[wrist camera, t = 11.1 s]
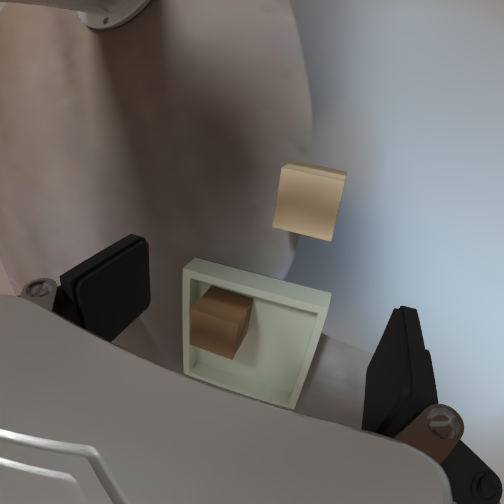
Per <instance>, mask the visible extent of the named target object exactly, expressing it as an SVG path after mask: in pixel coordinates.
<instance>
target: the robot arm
mask: <svg viewBox="0 0 504 504" xmlns="http://www.w3.org/2000/svg"><path fill="white" fill-rule="evenodd" d="M150 1H151V0H0V2H11V3H23V4H33V5H42V6H49V7H56V8H62V9H68V10H74V11H77V14H78V16H79V18H80V20H81V21H82V22H83V23H84V24H85V25H87V26H88V27H91V28H96V29H110V28H114V27H117V26H120V25H122V24H124V23H125V22H127V21H129V20H130V19H132V18H133V17H134V16H136V15H137V14H138V13H139V12H141V11H142V10H143V9H144V8H145V7H146V6H147V5H148V3H149V2H150ZM59 277H60V282H61V285H60V286H57V283H56V282H55V281H54V280H52V279H49V278H40V279H36V280H33V281H31V282H29V283H27V284H26V285H25V286H24V288H23V289H22V292H21V295H20V296H13V295H6V294H0V504H501V503H500V502H499V501H500V499H501V496H502V484H501V481H500V479H499V477H498V476H497V475H496V474H495V473H494V472H493V471H492V470H491V469H490V468H489V467H488V466H487V465H486V464H485V463H484V462H483V461H482V460H481V459H480V458H479V457H478V456H477V455H476V454H474V452H473V451H472V450H470V448H468V447H467V446H466V445H465V444H464V443H463V442H462V441H461V440H460V439H461V437H462V435H463V433H464V423H463V420H462V418H461V417H460V415H459V414H458V413H457V412H456V411H455V410H454V409H453V408H451V407H449V406H447V405H444V404H438V397H437V391H436V384H435V378H434V372H433V367H432V361H431V356H430V352H429V351H428V350H426V349H425V346H424V341H423V336H422V331H421V326H420V321H419V317H418V313H417V310H416V309H414V308H410V307H406V306H400V308H399V309H396V308H395V309H394V310H393V312H392V315H391V318H390V319H389V322H388V324H387V326H386V329H385V331H384V334H383V336H382V338H381V340H380V342H379V344H378V346H377V349H376V351H375V353H374V355H373V357H372V359H371V361H370V363H369V366H368V368H367V373H366V385H365V399H364V411H363V421H362V430H361V429H357V428H353V427H349V426H345V425H341V424H337V423H334V422H330V421H325V420H321V419H317V418H313V417H310V416H306V415H302V414H299V413H295V412H292V411H288V410H285V409H281V408H278V407H274V406H271V405H268V404H265V403H261V402H258V401H255V400H252V399H249V398H246V397H243V396H240V395H237V394H234V393H231V392H228V391H226V390H223V389H220V388H217V387H215V386H212V385H209V384H206V383H204V382H201V381H199V380H196V379H193V378H191V377H188V376H186V375H183V374H181V373H178V372H176V371H174V370H171V369H169V368H166V367H164V366H162V365H159V364H157V363H155V362H152V361H150V360H148V359H146V358H143V357H141V356H139V355H137V354H135V353H132V352H130V351H128V350H126V349H124V348H122V347H120V346H118V345H116V344H113V343H111V341H112V340H114V339H115V338H116V337H117V336H118V335H119V334H120V333H121V332H122V331H123V330H124V329H125V328H126V327H127V326H128V325H129V324H130V323H132V322H133V321H134V320H135V319H136V318H137V317H138V316H139V315H140V314H141V313H142V312H143V311H144V310H145V309H147V308H148V306H149V304H150V300H151V298H150V277H149V246H148V243H147V242H146V240H145V238H144V237H140V236H137V235H133V234H130V235H128V236H126V237H124V238H123V239H121V240H119V241H117V242H116V243H114V244H112V245H111V246H109V247H107V248H105V249H104V250H102V251H100V252H99V253H97V254H95V255H94V256H92V257H90V258H89V259H87V260H85V261H84V262H82V263H80V264H79V265H77V266H75V267H74V268H72V269H71V270H69V271H67V272H66V273H64V274H63V275H61V276H59Z"/></svg>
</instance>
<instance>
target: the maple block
mask: <svg viewBox="0 0 504 504" xmlns="http://www.w3.org/2000/svg"><path fill="white" fill-rule="evenodd" d="M345 178H346V172H344V171H339V170H336V169H331V168H327V167H323V166H318V165H314V164H308V163H304V162H299V161H294V160H293V161H291V162H290V163H288V164H287V165H285V166H284V167H282V168H281V174H280V180H279V187H278V193H277V199H276V205H275V211H274V217H273V223H272V227H274V228H278V229H282V230H286V231H291V232H295V233H299V234H303V235H307V236H311V237H315V238H319V239H322V240H327V241H330V242H331V240H332V236H333V232H334V228H335V224H336V219H337V216H338V211H339V207H340V203H341V198H342V193H343V189H344V184H345Z"/></svg>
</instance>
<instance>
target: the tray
mask: <svg viewBox="0 0 504 504" xmlns="http://www.w3.org/2000/svg"><path fill="white" fill-rule="evenodd" d="M211 285H212V286H215V287H218V288H222V289H225V290H228V291H231V292H234V293H237V294H240V295H244V296H247V297H250V298H253V299H254V300H253V305H252V310H251V315H250V320H249V325H248V331H247V334H246V336H245V338H244V339H243V341H242V343H241V345H240V347H239V349H238V350H237V352H236V354H235V356H234V358H233V360H231V359H228V358H225V357H222V356H219V355H217V354H214V353H211V352H208V351H206V350H203V349H200V348H198V347H195V346H193V345H190V327H191V309H192V308H193V306H194V305H195V304H196V303H197V302H198V301H199V299H200V298H201V297H202V296H203V295H204V294H205V292H206V291H207V290H208V289H209V288H210V287H211ZM330 300H331V293H328V292H325V291H321V290H316V289H313V288H309V287H305V286H301V285H297V284H293V283H289V282H285V281H282V280H278V279H274V278H270V277H267V276H263V275H259V274H255V273H251V272H248V271H244V270H240V269H236V268H233V267H229V266H225V265H222V264H218V263H214V262H210V261H207V260H203V259H199V258H196V257H195V258H194V259H193V260H191V261H190V262H189V263H188V264H187V265H186V266H185V267H184V268H183V366H184V374H187V375H189V376H192V377H194V378H197V379H200V380H202V381H205V382H208V383H211V384H213V385H216V386H219V387H222V388H225V389H228V390H231V391H234V392H237V393H240V394H243V395H246V396H249V397H252V398H256V399H259V400H262V401H265V402H269V403H272V404H276V405H279V406H283V407H287V408H290V409H294V408H295V406H296V403H297V400H298V398H299V395H300V392H301V390H302V387H303V384H304V381H305V379H306V376H307V373H308V370H309V367H310V365H311V362H312V359H313V356H314V353H315V350H316V347H317V344H318V341H319V338H320V335H321V332H322V329H323V326H324V322H325V319H326V316H327V313H328V309H329V305H330Z"/></svg>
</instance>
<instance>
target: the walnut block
mask: <svg viewBox="0 0 504 504" xmlns="http://www.w3.org/2000/svg"><path fill="white" fill-rule="evenodd" d="M253 300H254V299H253V298H250V297H247V296H244V295H240V294H237V293H234V292H231V291H228V290H225V289H222V288H218V287H215V286H212V285H211V287H210V288H209V289H208V290H207V291H206V292H205V294H204V295H203V296H202V297H201V298H200V299H199V301H198V302H197V303H196V304H195V305H194V306H193V308H192V309H191V327H190V345H193V346H195V347H198V348H200V349H203V350H206V351H208V352H211V353H214V354H217V355H219V356H222V357H225V358H228V359H231V360H233V358H234V356H235V354H236V352H237V350H238V349H239V347H240V345H241V343H242V341H243V339H244V338H245V336H246V334H247V331H248V325H249V320H250V315H251V310H252V305H253Z"/></svg>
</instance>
